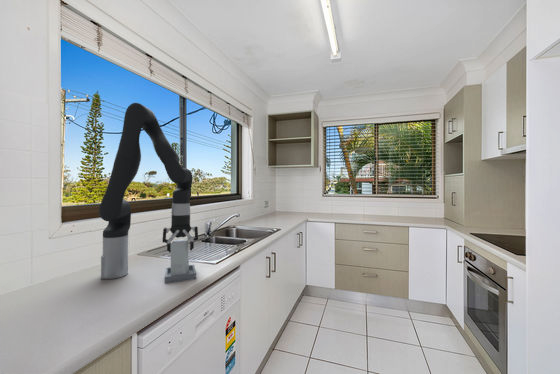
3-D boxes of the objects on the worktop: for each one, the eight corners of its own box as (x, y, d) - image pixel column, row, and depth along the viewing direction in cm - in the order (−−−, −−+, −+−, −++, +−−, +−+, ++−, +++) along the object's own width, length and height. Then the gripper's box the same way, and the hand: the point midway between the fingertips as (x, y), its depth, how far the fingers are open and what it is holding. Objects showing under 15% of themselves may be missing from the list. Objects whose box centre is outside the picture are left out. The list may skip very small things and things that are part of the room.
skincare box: (185, 277, 102) (185, 242, 102) (169, 278, 101) (170, 243, 101) (188, 271, 110) (189, 238, 110) (174, 271, 109) (175, 238, 109)
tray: (164, 283, 98) (164, 277, 98) (165, 273, 109) (165, 267, 109) (196, 279, 103) (196, 273, 103) (194, 269, 114) (194, 264, 114)
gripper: (162, 215, 99) (162, 254, 99) (198, 214, 105) (198, 251, 105) (163, 213, 106) (162, 250, 106) (197, 212, 112) (197, 247, 112)
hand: (180, 251), depth 106 cm, fingers open, 8 cm apart
